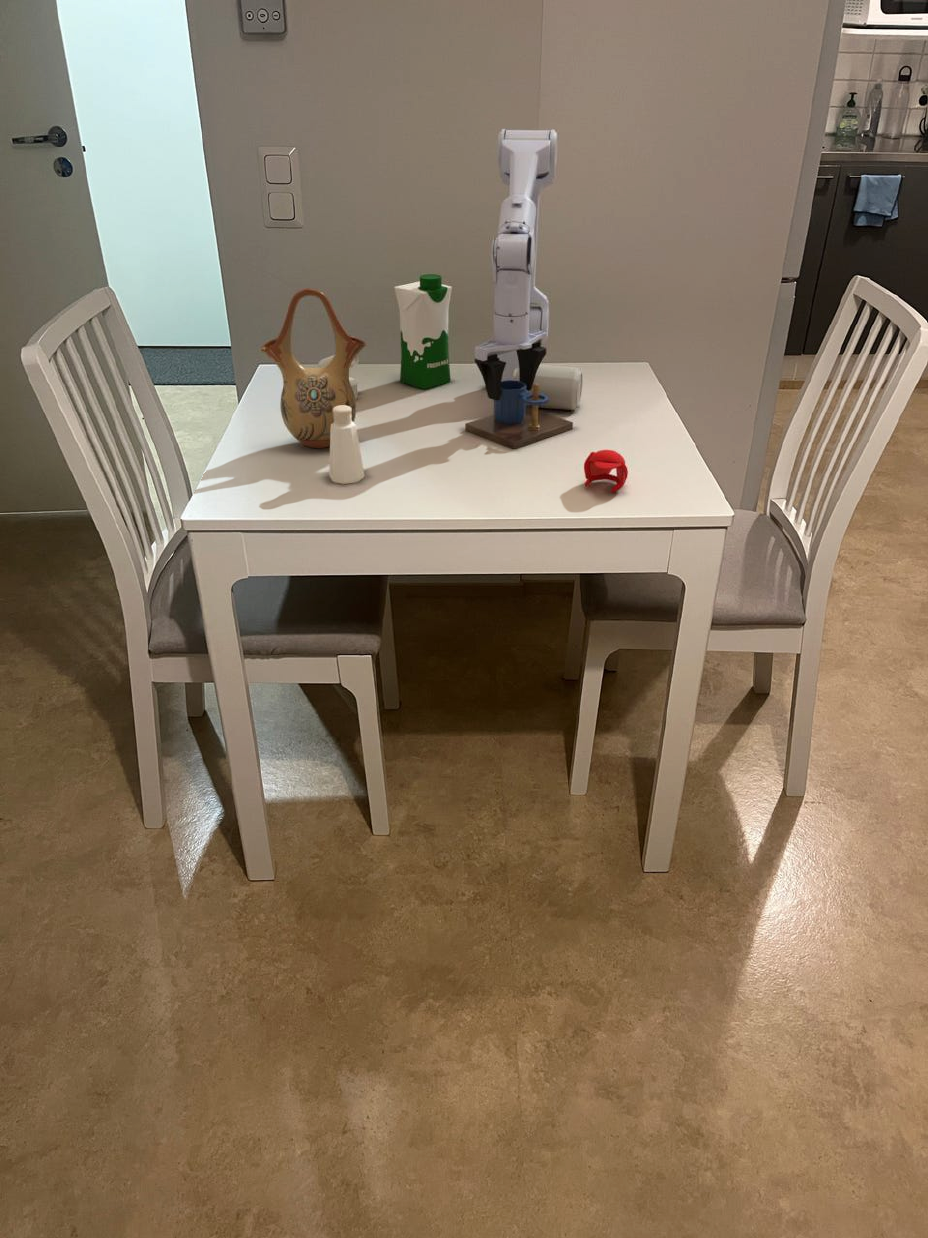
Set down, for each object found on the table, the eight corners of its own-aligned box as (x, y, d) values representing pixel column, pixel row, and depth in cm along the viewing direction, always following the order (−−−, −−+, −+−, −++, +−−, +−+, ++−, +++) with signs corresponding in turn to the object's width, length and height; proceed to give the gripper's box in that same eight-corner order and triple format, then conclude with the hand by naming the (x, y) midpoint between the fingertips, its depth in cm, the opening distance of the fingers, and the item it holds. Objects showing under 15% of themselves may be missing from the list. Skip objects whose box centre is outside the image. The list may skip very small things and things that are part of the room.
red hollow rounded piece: (579, 477, 145) (581, 440, 142) (617, 476, 146) (621, 439, 143) (588, 499, 139) (591, 460, 135) (629, 498, 139) (632, 459, 136)
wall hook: (338, 355, 168) (297, 346, 173) (341, 408, 173) (301, 397, 178) (370, 344, 173) (329, 335, 178) (372, 395, 178) (333, 386, 183)
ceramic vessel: (369, 431, 162) (360, 279, 149) (373, 451, 155) (364, 292, 142) (271, 437, 160) (254, 283, 147) (271, 457, 153) (252, 296, 140)
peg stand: (465, 429, 163) (465, 378, 158) (523, 411, 171) (524, 362, 166) (514, 449, 155) (515, 396, 151) (572, 428, 163) (575, 377, 159)
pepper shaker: (331, 470, 148) (326, 401, 142) (366, 470, 148) (362, 401, 142) (326, 484, 144) (320, 413, 138) (362, 484, 143) (358, 414, 138)
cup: (487, 418, 164) (488, 384, 161) (509, 411, 167) (510, 378, 164) (532, 435, 157) (533, 400, 154) (554, 427, 160) (556, 392, 157)
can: (584, 380, 174) (519, 375, 177) (581, 359, 167) (514, 355, 170) (578, 417, 173) (513, 412, 175) (575, 398, 165) (507, 393, 168)
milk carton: (424, 391, 180) (421, 282, 170) (392, 381, 186) (388, 274, 175) (457, 381, 186) (456, 274, 175) (426, 371, 191) (423, 267, 181)
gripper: (496, 325, 148) (495, 409, 155) (560, 309, 156) (556, 390, 163) (466, 316, 152) (466, 398, 160) (530, 301, 161) (527, 380, 168)
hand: (510, 393), depth 162 cm, fingers open, 7 cm apart
